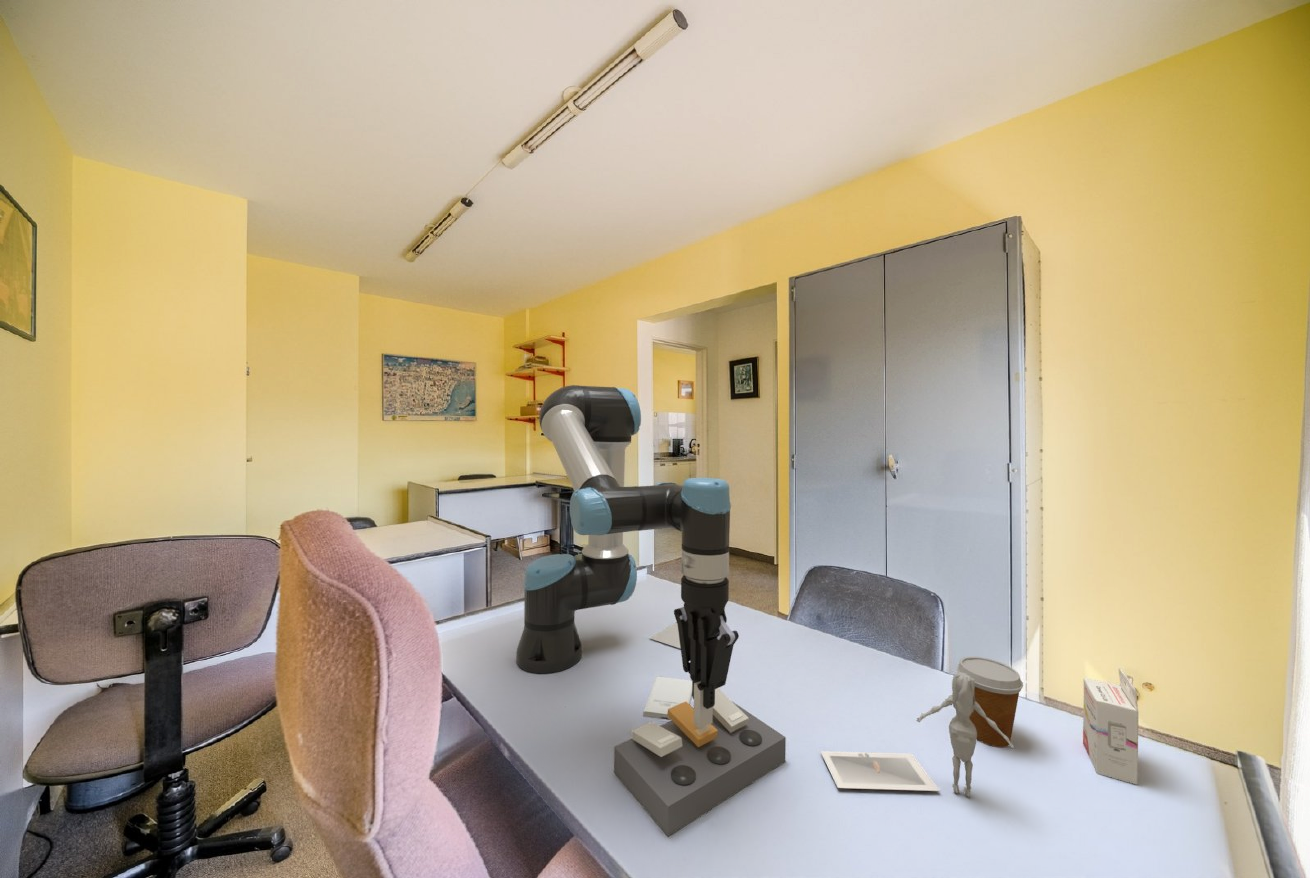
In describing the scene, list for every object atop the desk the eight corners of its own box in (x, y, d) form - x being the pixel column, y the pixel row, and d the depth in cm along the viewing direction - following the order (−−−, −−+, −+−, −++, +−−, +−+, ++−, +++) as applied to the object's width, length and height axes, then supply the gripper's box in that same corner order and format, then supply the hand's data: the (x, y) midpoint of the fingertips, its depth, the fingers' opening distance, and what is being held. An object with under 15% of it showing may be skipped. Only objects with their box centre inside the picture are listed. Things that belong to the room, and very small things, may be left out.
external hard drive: (693, 688, 96) (686, 724, 84) (655, 683, 98) (642, 718, 86) (693, 680, 96) (686, 716, 84) (655, 676, 98) (643, 710, 86)
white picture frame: (940, 798, 67) (940, 783, 67) (837, 795, 68) (837, 780, 68) (911, 760, 75) (911, 747, 75) (820, 757, 75) (820, 744, 75)
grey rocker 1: (632, 739, 73) (631, 729, 73) (652, 729, 75) (651, 720, 75) (661, 757, 66) (660, 746, 66) (682, 746, 68) (681, 736, 69)
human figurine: (1010, 802, 66) (1012, 679, 66) (1015, 821, 63) (1017, 692, 62) (915, 771, 72) (916, 658, 72) (915, 787, 69) (917, 669, 68)
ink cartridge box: (1080, 742, 79) (1081, 658, 79) (1120, 753, 76) (1121, 666, 76) (1094, 774, 72) (1096, 681, 72) (1139, 787, 69) (1141, 691, 69)
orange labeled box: (667, 716, 77) (667, 708, 76) (685, 707, 79) (686, 700, 79) (698, 747, 70) (698, 738, 70) (717, 737, 72) (717, 729, 72)
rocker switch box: (614, 772, 71) (614, 744, 71) (724, 717, 85) (724, 694, 85) (667, 836, 60) (668, 804, 60) (785, 761, 74) (785, 735, 74)
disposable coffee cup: (1004, 761, 74) (1005, 688, 74) (944, 727, 83) (945, 662, 83) (1033, 743, 79) (1034, 674, 79) (973, 713, 87) (974, 651, 87)
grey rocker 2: (699, 699, 81) (700, 693, 80) (715, 692, 83) (716, 685, 83) (730, 733, 74) (731, 725, 74) (747, 724, 76) (748, 716, 76)
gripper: (661, 569, 75) (659, 710, 75) (715, 593, 64) (713, 757, 65) (696, 562, 79) (694, 695, 80) (752, 583, 69) (749, 737, 69)
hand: (702, 723), depth 72 cm, fingers closed
